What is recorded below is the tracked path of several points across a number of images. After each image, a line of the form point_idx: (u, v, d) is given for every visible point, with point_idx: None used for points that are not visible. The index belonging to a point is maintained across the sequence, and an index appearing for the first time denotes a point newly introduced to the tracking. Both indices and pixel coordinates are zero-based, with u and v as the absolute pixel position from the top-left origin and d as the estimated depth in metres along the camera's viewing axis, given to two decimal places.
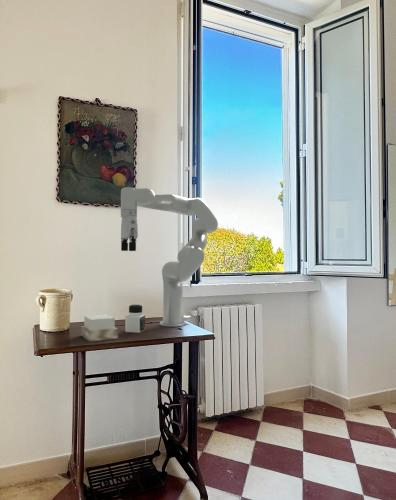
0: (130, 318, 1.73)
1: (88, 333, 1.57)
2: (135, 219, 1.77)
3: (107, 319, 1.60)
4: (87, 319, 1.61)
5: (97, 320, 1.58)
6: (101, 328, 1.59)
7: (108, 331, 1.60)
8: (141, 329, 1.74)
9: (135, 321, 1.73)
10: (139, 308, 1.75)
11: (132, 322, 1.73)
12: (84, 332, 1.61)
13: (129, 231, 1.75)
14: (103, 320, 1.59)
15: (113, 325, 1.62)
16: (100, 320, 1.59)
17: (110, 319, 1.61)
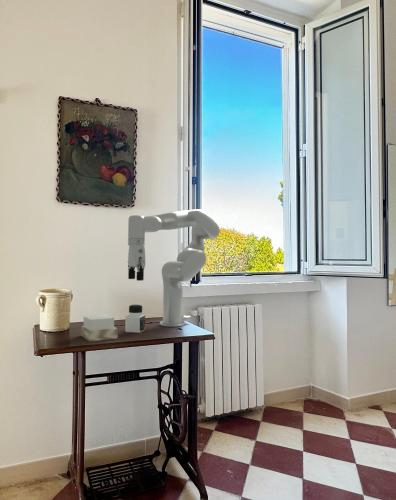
0: (130, 318, 1.73)
1: (88, 333, 1.57)
2: (143, 248, 1.74)
3: (106, 319, 1.60)
4: (86, 319, 1.61)
5: (96, 320, 1.58)
6: (100, 328, 1.59)
7: (108, 331, 1.60)
8: (141, 329, 1.74)
9: (135, 321, 1.73)
10: (139, 308, 1.75)
11: (132, 322, 1.73)
12: (84, 332, 1.61)
13: (137, 260, 1.72)
14: (102, 320, 1.59)
15: (112, 325, 1.62)
16: (99, 320, 1.59)
17: (109, 319, 1.61)
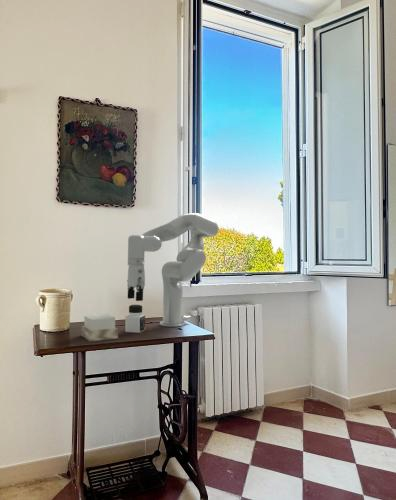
0: (130, 318, 1.73)
1: (88, 333, 1.57)
2: (142, 268, 1.73)
3: (108, 319, 1.61)
4: (87, 319, 1.61)
5: (98, 320, 1.58)
6: (102, 328, 1.59)
7: (108, 331, 1.60)
8: (141, 329, 1.74)
9: (135, 321, 1.73)
10: (139, 308, 1.75)
11: (132, 322, 1.73)
12: (85, 331, 1.61)
13: (136, 281, 1.72)
14: (104, 320, 1.60)
15: (114, 325, 1.62)
16: (101, 320, 1.59)
17: (111, 319, 1.61)
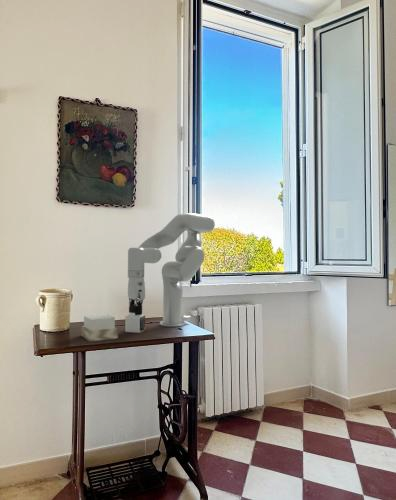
0: (130, 318, 1.73)
1: (88, 333, 1.57)
2: (142, 280, 1.74)
3: (107, 319, 1.61)
4: (87, 319, 1.61)
5: (97, 320, 1.58)
6: (101, 328, 1.59)
7: (108, 331, 1.60)
8: (141, 329, 1.74)
9: (135, 321, 1.73)
10: None
11: (132, 321, 1.73)
12: (84, 331, 1.61)
13: (136, 295, 1.72)
14: (103, 320, 1.60)
15: (113, 325, 1.62)
16: (100, 320, 1.59)
17: (110, 319, 1.61)
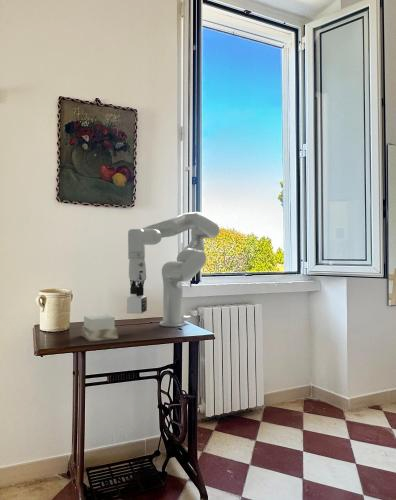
0: (132, 299, 1.74)
1: (88, 333, 1.57)
2: (143, 261, 1.74)
3: (107, 319, 1.61)
4: (87, 319, 1.61)
5: (97, 320, 1.58)
6: (101, 328, 1.59)
7: (108, 331, 1.60)
8: (143, 310, 1.75)
9: (137, 302, 1.73)
10: None
11: (134, 303, 1.74)
12: (85, 331, 1.61)
13: (137, 276, 1.72)
14: (103, 320, 1.60)
15: (113, 325, 1.62)
16: (100, 320, 1.59)
17: (110, 319, 1.61)
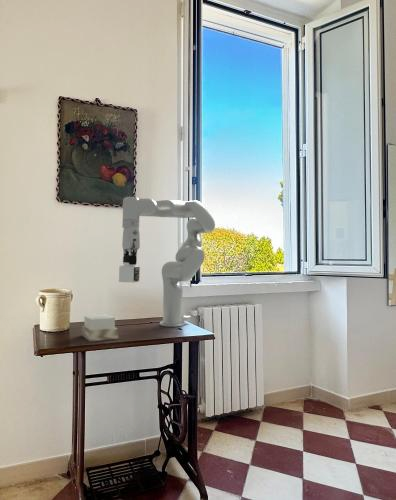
0: (124, 268, 1.71)
1: (88, 333, 1.57)
2: (137, 230, 1.71)
3: (107, 319, 1.61)
4: (87, 319, 1.61)
5: (97, 320, 1.58)
6: (101, 328, 1.59)
7: (108, 331, 1.60)
8: (135, 279, 1.72)
9: (129, 270, 1.70)
10: None
11: (126, 271, 1.71)
12: (85, 332, 1.61)
13: (131, 244, 1.69)
14: (103, 320, 1.60)
15: (113, 325, 1.62)
16: (100, 320, 1.59)
17: (110, 319, 1.61)
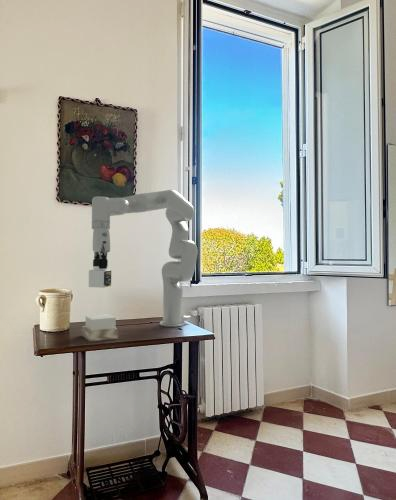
0: (94, 272, 1.60)
1: (88, 333, 1.57)
2: (107, 231, 1.61)
3: (108, 319, 1.60)
4: (88, 319, 1.61)
5: (98, 320, 1.58)
6: (102, 328, 1.59)
7: (108, 331, 1.60)
8: (106, 284, 1.61)
9: (99, 274, 1.60)
10: None
11: (96, 276, 1.60)
12: (85, 332, 1.61)
13: (100, 247, 1.59)
14: (104, 320, 1.60)
15: (114, 325, 1.62)
16: (101, 320, 1.59)
17: (111, 319, 1.61)
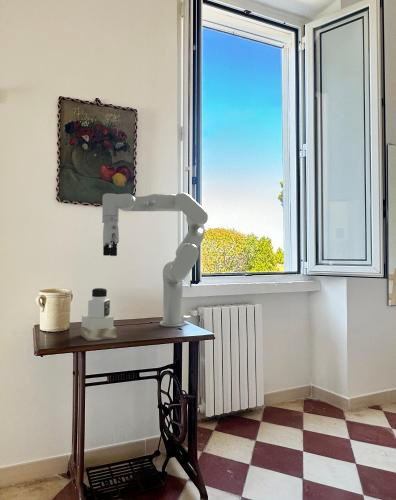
0: (93, 302, 1.61)
1: (87, 332, 1.58)
2: (116, 225, 1.80)
3: (106, 318, 1.62)
4: (86, 319, 1.62)
5: (97, 319, 1.59)
6: (100, 327, 1.60)
7: (107, 330, 1.61)
8: (105, 314, 1.62)
9: (100, 305, 1.60)
10: (103, 292, 1.62)
11: (96, 306, 1.61)
12: (83, 331, 1.62)
13: (110, 236, 1.78)
14: (102, 319, 1.61)
15: (112, 324, 1.63)
16: (99, 319, 1.60)
17: (109, 318, 1.63)
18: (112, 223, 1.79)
